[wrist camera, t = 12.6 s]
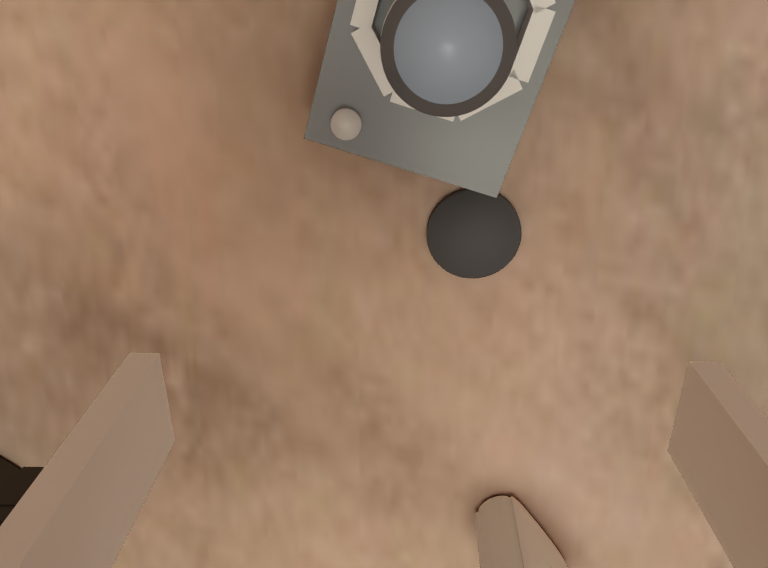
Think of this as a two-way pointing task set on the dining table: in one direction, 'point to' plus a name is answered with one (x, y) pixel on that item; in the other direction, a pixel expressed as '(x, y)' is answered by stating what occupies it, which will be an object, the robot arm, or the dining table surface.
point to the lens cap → (473, 233)
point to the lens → (447, 53)
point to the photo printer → (512, 537)
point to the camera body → (413, 128)
